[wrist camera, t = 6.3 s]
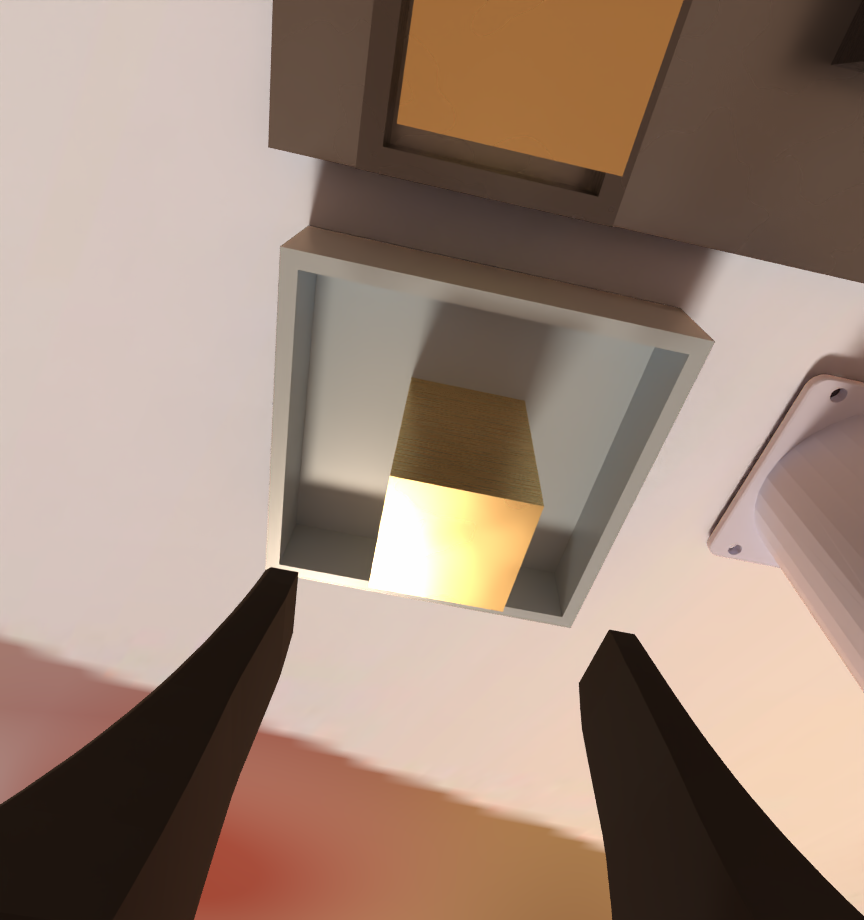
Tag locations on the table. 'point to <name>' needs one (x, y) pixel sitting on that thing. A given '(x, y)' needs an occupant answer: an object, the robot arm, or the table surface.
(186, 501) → the table surface
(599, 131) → the billet
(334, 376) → the tote
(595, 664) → the robot arm
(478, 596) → the billet
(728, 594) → the table surface
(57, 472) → the table surface
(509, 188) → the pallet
